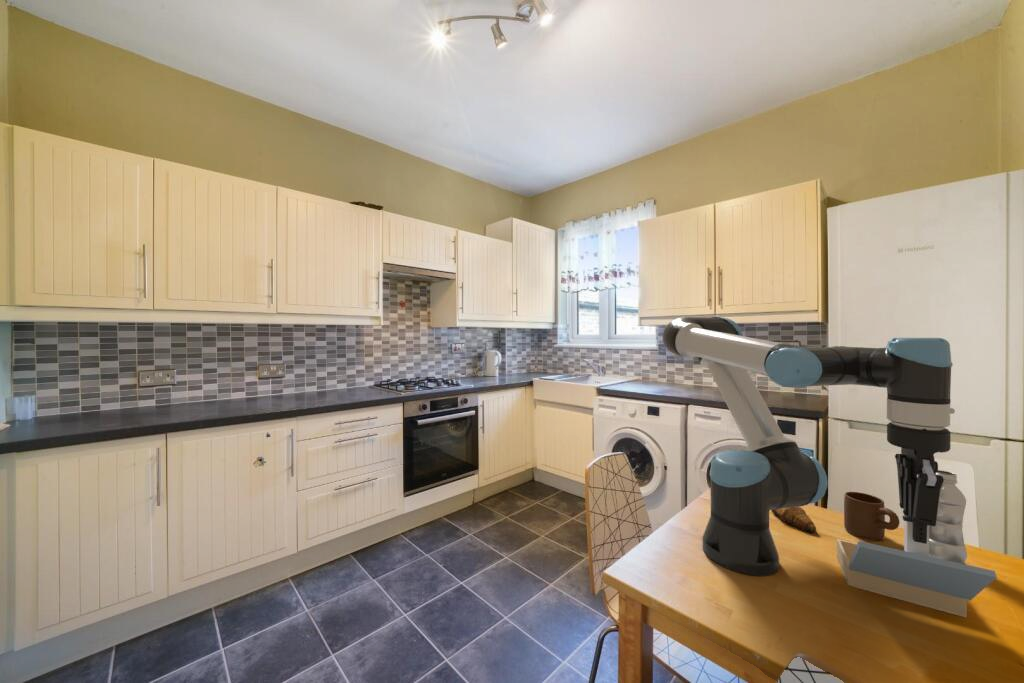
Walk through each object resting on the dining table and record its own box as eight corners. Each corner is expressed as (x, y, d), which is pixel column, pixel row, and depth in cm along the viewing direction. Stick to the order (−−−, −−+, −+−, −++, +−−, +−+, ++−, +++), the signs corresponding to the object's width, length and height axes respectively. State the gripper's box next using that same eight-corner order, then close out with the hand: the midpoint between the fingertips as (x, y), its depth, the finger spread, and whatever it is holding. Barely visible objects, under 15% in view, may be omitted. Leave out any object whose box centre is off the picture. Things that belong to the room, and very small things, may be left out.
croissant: (826, 533, 95) (826, 514, 95) (802, 535, 94) (802, 516, 94) (782, 509, 108) (782, 493, 108) (761, 511, 108) (761, 494, 108)
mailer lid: (848, 564, 74) (849, 569, 74) (858, 540, 67) (859, 546, 67) (968, 594, 65) (970, 600, 65) (994, 570, 58) (996, 577, 58)
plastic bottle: (977, 570, 79) (977, 479, 79) (940, 567, 80) (940, 477, 80) (947, 553, 86) (947, 468, 86) (913, 550, 87) (913, 467, 87)
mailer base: (848, 585, 75) (848, 565, 75) (836, 556, 85) (836, 538, 85) (966, 617, 66) (966, 595, 66) (938, 580, 76) (938, 561, 76)
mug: (913, 551, 87) (913, 512, 86) (882, 552, 86) (882, 512, 86) (863, 525, 99) (863, 491, 98) (836, 526, 98) (836, 491, 98)
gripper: (968, 436, 57) (966, 585, 57) (933, 419, 68) (931, 545, 68) (900, 430, 61) (899, 569, 62) (877, 415, 72) (876, 534, 72)
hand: (916, 556), depth 65 cm, fingers closed
